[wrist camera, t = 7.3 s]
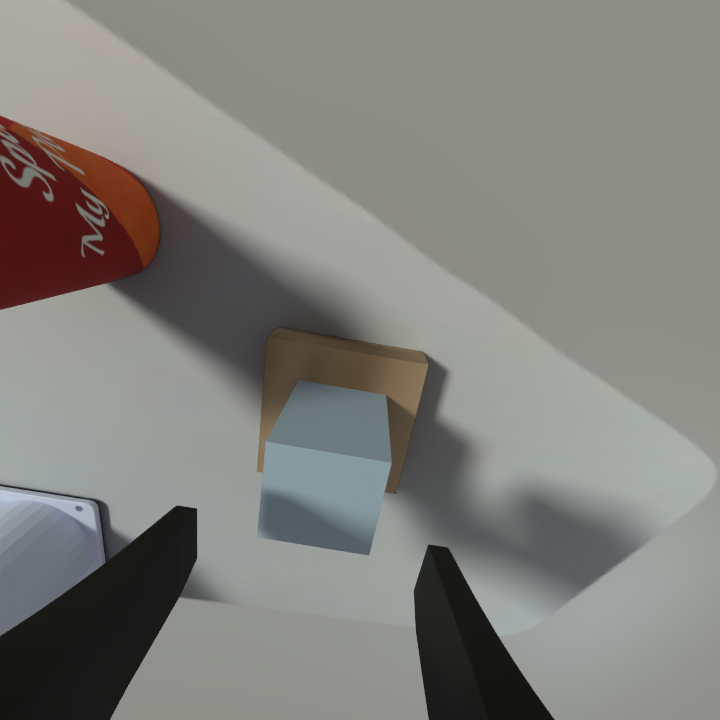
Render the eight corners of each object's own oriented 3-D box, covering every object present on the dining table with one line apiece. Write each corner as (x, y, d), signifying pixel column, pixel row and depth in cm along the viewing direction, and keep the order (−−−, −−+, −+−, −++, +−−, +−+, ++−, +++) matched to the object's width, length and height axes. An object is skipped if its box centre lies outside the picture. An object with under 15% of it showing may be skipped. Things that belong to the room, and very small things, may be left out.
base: (267, 450, 21) (257, 471, 19) (277, 327, 18) (266, 337, 16) (394, 471, 21) (396, 493, 19) (423, 351, 18) (428, 364, 16)
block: (289, 453, 18) (257, 536, 13) (298, 379, 17) (265, 441, 12) (370, 467, 19) (369, 555, 13) (386, 395, 17) (391, 463, 12)
